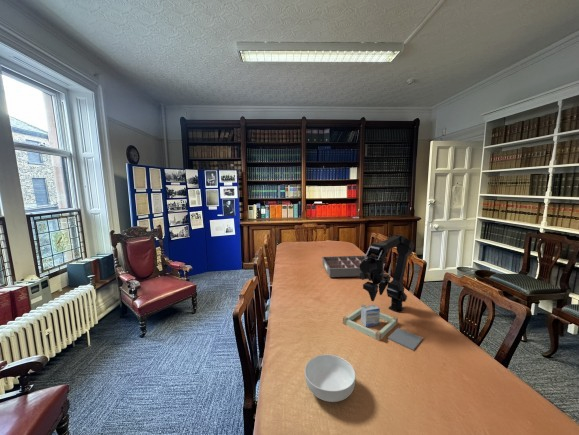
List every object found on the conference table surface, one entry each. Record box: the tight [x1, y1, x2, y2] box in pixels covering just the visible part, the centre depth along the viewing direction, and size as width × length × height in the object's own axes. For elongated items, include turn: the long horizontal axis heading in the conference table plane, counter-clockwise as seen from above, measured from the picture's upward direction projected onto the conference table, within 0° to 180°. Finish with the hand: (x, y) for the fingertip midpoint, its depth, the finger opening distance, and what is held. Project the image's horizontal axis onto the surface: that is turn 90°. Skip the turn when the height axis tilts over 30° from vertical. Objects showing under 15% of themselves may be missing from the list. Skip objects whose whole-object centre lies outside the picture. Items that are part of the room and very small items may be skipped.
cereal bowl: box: [304, 353, 357, 403], centre depth 80 cm, size 17×17×7 cm
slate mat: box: [387, 327, 424, 351], centre depth 107 cm, size 11×11×1 cm
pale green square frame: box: [342, 304, 399, 342], centre depth 119 cm, size 19×19×3 cm
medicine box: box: [360, 304, 381, 328], centre depth 119 cm, size 8×4×9 cm, turn 105°
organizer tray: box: [321, 253, 367, 278], centre depth 194 cm, size 32×40×10 cm
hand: (376, 297), depth 121 cm, fingers open, 9 cm apart
